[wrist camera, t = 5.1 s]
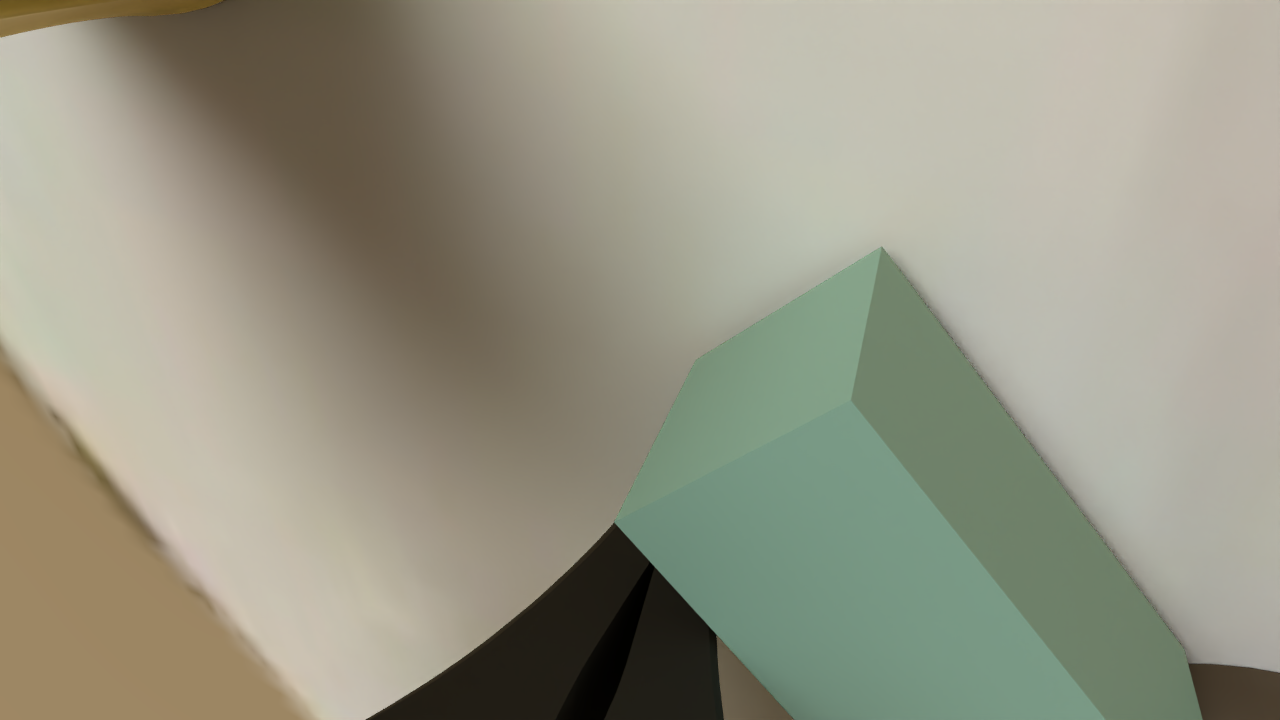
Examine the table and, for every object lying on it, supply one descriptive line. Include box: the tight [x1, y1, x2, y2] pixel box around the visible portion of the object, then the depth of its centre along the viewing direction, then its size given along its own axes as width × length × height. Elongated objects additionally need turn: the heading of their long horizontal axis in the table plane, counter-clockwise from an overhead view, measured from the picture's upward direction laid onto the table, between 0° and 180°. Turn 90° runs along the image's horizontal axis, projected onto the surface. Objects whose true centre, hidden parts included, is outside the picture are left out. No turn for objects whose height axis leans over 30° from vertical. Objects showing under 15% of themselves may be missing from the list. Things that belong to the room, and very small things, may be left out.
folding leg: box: [614, 247, 1203, 720], centre depth 11 cm, size 7×3×4 cm, turn 42°
